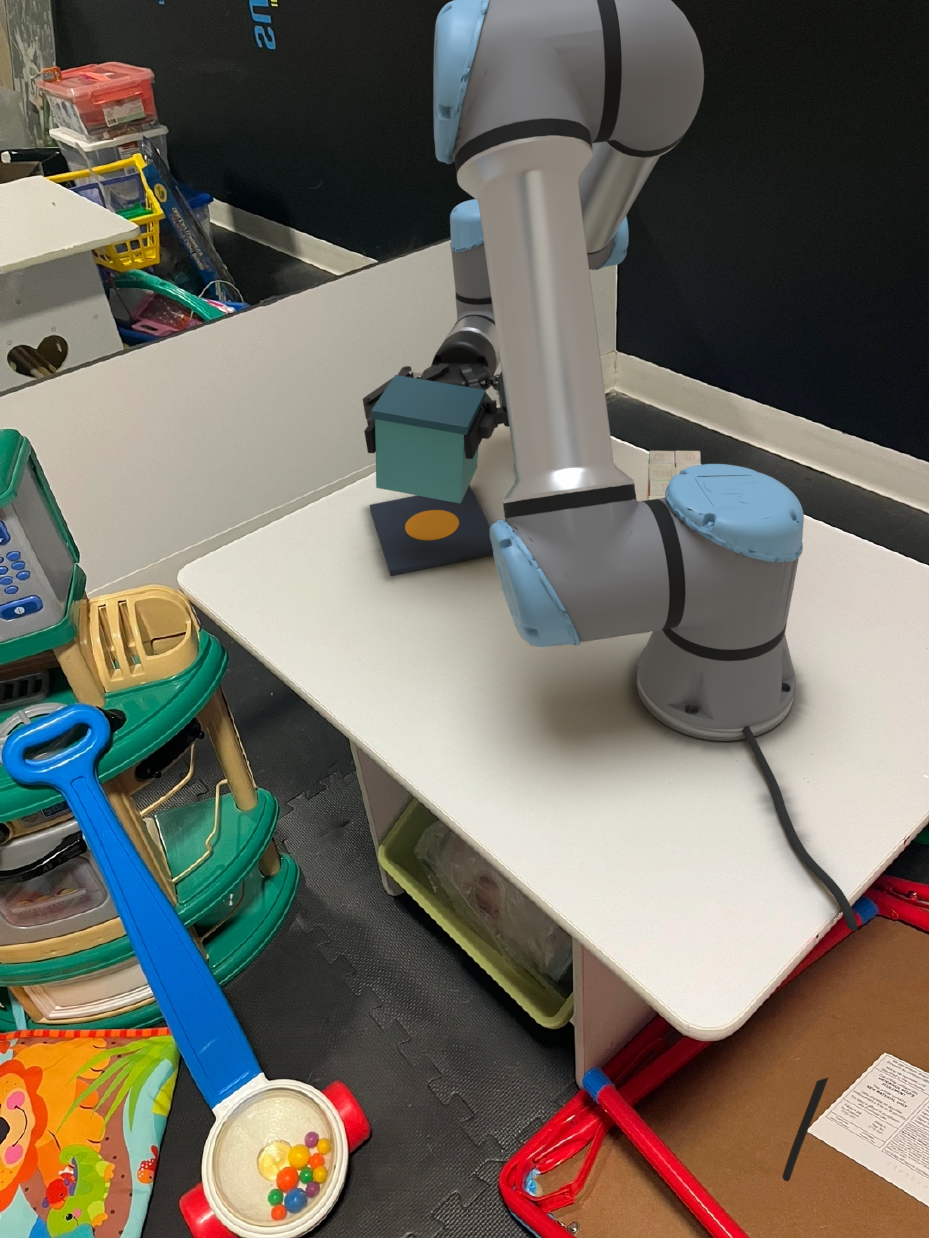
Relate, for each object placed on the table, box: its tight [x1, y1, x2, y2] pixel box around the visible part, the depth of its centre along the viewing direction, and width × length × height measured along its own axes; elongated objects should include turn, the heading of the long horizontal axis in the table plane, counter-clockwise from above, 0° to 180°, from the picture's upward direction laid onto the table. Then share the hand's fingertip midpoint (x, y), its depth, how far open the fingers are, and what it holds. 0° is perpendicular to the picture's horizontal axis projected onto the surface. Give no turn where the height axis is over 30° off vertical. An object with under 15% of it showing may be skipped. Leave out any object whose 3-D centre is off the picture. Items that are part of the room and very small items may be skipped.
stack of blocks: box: [646, 450, 703, 500], centre depth 105 cm, size 21×6×12 cm, turn 170°
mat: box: [369, 484, 494, 577], centre depth 118 cm, size 16×14×1 cm
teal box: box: [371, 374, 487, 503], centre depth 103 cm, size 9×11×10 cm
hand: (418, 445), depth 99 cm, fingers closed on teal box, 10 cm apart
